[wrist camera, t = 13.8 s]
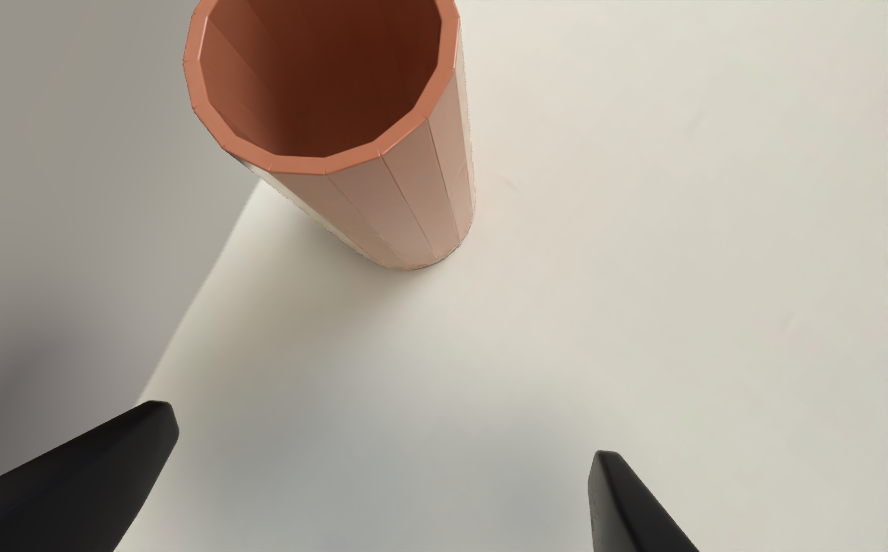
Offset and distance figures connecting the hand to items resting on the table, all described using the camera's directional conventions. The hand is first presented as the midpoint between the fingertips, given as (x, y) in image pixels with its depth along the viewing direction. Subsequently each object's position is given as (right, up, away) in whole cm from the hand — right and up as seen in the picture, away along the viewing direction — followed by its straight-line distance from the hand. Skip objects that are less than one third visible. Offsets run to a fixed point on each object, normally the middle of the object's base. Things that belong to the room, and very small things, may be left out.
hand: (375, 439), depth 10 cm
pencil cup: (0, +7, +14) cm, 16 cm away
